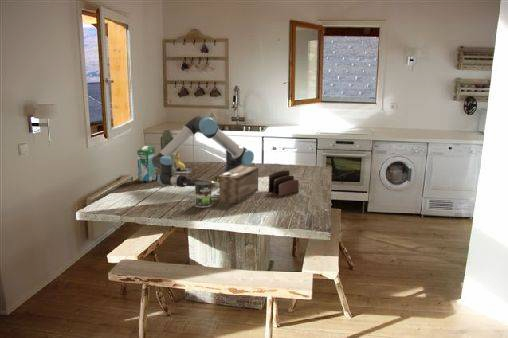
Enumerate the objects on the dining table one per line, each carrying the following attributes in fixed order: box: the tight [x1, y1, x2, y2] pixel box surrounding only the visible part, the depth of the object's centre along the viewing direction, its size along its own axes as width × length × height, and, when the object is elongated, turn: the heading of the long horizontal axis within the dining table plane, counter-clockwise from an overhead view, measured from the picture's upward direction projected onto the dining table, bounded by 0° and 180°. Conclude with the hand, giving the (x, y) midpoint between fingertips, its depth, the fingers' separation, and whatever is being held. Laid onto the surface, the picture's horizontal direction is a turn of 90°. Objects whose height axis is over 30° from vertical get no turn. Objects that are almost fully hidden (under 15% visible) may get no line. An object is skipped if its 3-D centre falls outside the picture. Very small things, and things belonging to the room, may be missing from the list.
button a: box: [210, 180, 219, 189], centre depth 297 cm, size 13×5×5 cm, turn 67°
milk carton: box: [136, 145, 157, 183], centre depth 339 cm, size 9×9×25 cm
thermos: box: [160, 129, 176, 175], centre depth 353 cm, size 9×12×35 cm
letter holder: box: [268, 170, 300, 197], centre depth 311 cm, size 10×20×14 cm, turn 133°
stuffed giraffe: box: [173, 151, 192, 174], centre depth 372 cm, size 16×18×16 cm
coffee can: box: [194, 180, 212, 209], centre depth 281 cm, size 10×10×14 cm
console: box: [217, 165, 259, 204], centre depth 303 cm, size 14×33×17 cm, turn 158°
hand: (210, 184), depth 299 cm, fingers closed
